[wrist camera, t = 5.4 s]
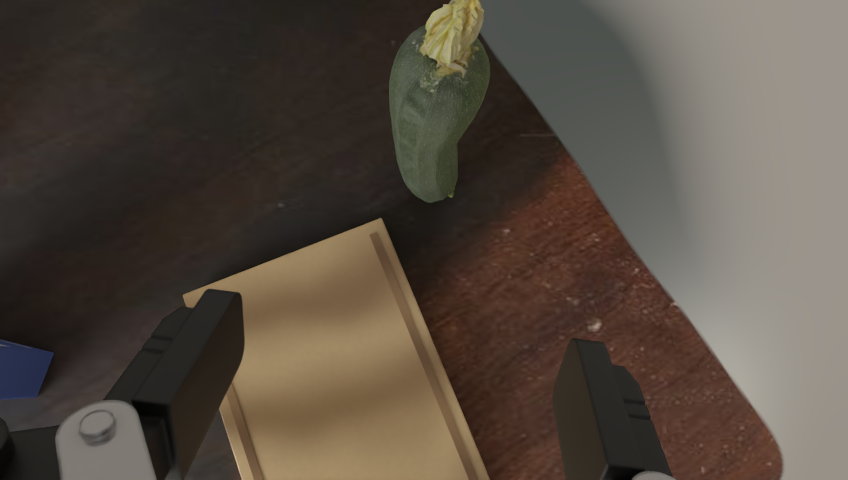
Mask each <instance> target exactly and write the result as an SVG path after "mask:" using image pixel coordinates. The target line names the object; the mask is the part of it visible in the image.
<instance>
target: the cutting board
mask: <svg viewBox="0 0 848 480" xmlns="http://www.w3.org/2000/svg"><path fill="white" fill-rule="evenodd" d="M207 289H217V290H225V291H232V292H239V293H240V294H241V296H242V304H243V319H244V335H245V346H244V353H243V357H242V361H241V364H240V366H239V368H238V370H237V372H236V374H235V377H234V379H233V381H232V383H231V385H230V387H229V389H228V391H227V393H226V395H225V397H224V399H223V401H222V403H221V405H220V407H219V410H220V413H221V416H222V419H223V422H224V425H225V428H226V432H227V435H228V438H229V441H230V444H231V447H232V450H233V453H234V456H235V459H236V463H237V466H238V469H239V472H240V475H241V478H242V480H490V477H489V475H488V473H487V470H486V468H485V465H484V463H483V461H482V458H481V456H480V453H479V451H478V449H477V446H476V444H475V441H474V439H473V437H472V434H471V432H470V429H469V427H468V424H467V422H466V420H465V417H464V415H463V412H462V410H461V408H460V405H459V403H458V400H457V398H456V396H455V393H454V391H453V388H452V386H451V384H450V381H449V379H448V376H447V374H446V371H445V369H444V367H443V364H442V362H441V359H440V357H439V355H438V352H437V350H436V347H435V345H434V343H433V340H432V338H431V335H430V333H429V331H428V328H427V326H426V323H425V321H424V318H423V316H422V314H421V311H420V309H419V306H418V304H417V302H416V299H415V297H414V294H413V292H412V290H411V287H410V285H409V282H408V280H407V278H406V275H405V273H404V270H403V268H402V265H401V263H400V261H399V258H398V256H397V253H396V251H395V249H394V246H393V244H392V241H391V239H390V237H389V234H388V232H387V229H386V227H385V225H384V222H383V220H382V218H379V219H377V220H374V221H372V222H369V223H367V224H364V225H361V226H359V227H356V228H354V229H351V230H348V231H346V232H343V233H341V234H338V235H336V236H333V237H330V238H328V239H325V240H323V241H320V242H317V243H315V244H312V245H310V246H307V247H305V248H302V249H299V250H297V251H294V252H292V253H289V254H286V255H284V256H281V257H279V258H276V259H274V260H271V261H268V262H266V263H263V264H261V265H258V266H256V267H253V268H250V269H248V270H245V271H243V272H240V273H237V274H235V275H232V276H230V277H227V278H225V279H222V280H219V281H217V282H214V283H212V284H209V285H206V286H204V287H201V288H199V289H196V290H194V291H191V292H188V293H186V294H184V295H183V298H184V301H185V304H186V307H190V308H194V306H195V305H196V303H197V302H198V300H199V299H200V298H201V296H202V295H203V293H204V292H205V291H206V290H207Z"/></svg>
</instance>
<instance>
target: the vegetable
mask: <svg viewBox="0 0 848 480" xmlns="http://www.w3.org/2000/svg"><path fill="white" fill-rule="evenodd" d="M480 1H481V0H451V1H450V3H449V4H443V7H442V8H440V9H438V10H436V11H434V12H433V13H432V14H431V16H430V18H429V19H428V21H427V23H426V25H424V26H421V27H420V28H418V29H417V30H415V31H414V32H412V33H411V34H410V35H409V37H408V38H407V39H406V40H405V41H404V43H403V44H402V45H401V47H400V49H399V50H398V52H397V55H396V57H395V60H394V64H393V67H392V70H391V75H390V81H389V104H390V114H391V120H392V133H393V139H394V144H395V150H396V158H397V163H398V166H399V169H400V172H401V175H402V177H403V180H404V182H405V184H406V185H407V187H408V188H409V189H410V191H411V192H412V193H413V194H414V195H415V196H417V197H418V198H420V199H422V200H424V201H425V202H428V203H432V202H435V201H439V200H443V199H444V198H446V197H447V196H449V197H450V198H451V197H453V196H454V191H455V185H456V182H457V179H458V155H457V142H458V141H459V139H460V138H461V136H462V135H463V133H464V132H465V130H466V129H467V127H468V126H469V124H470V123H471V122H472V120H473V119H474V117H475V115H476V114H477V112H478V110H479V108H480V106H481V104H482V102H483V99H484V96H485V93H486V90H487V87H488V84H489V78H490V65H489V60H488V57H487V54H486V52H485V50H484V47H483V46H482V44H481V42H480V41H479V39H478V38H477V37H478V34H479V32H480V29H481V26H482V23H483V19H484V17H483V14H484V12H483V11H484V10H483V9H482V6H481V3H480Z"/></svg>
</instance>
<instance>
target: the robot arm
mask: <svg viewBox="0 0 848 480" xmlns="http://www.w3.org/2000/svg"><path fill="white" fill-rule="evenodd" d="M244 346H245V335H244V319H243V304H242V296H241V294H240V293H239V292H232V291H225V290H217V289H207V290H206V291H205V292H204V293H203V295H202V296H201V298H200V299H199V300H198V302H197V303H196V305H195V306H194V308H190V307H183V306H182V307H180V308H179V309H177V310H176V311H174V312H173V313H171V314H170V315H168V316H167V317H165V318H164V319H163V320H162V321H161V322H160V324H159V325H158V326H157V328H156V329H155V330H154V332H153V333H152V335H151V338H149V339H148V340H147V341H146V343H145V344H144V345H143V347H142V350H141V351H139V352H138V353H137V355H136V356H135V358H134V359H133V360H132V362H131V363H130V364H129V366H128V367H127V368H126V370H125V371H124V372H123V374H122V375H121V377H120V378H119V379H118V381H117V382H116V383H115V385H114V386H113V387H112V389H111V390H110V391H109V393H108V394H107V395H106V397H105V398H104V399H103V401H98V402H94V403H91V404H88V405H86V406H84V407H81V408H79V409H78V410H76V411H75V412H73V413H72V414H71V415H69V416H68V417H67V418H66V419H65V420H64V421H63V422H62V424H61V425H58V426H52V427H45V428H37V429H29V430H22V431H14V432H9V429H8V427H7V424H6V422H5V421H4V420H3V419H1V418H0V480H184V478H185V476H186V474H187V472H188V470H189V468H190V466H191V464H192V462H193V459H194V457H195V455H196V453H197V451H198V449H199V447H200V445H201V443H202V441H203V439H204V437H205V435H206V433H207V431H208V429H209V427H210V425H211V423H212V421H213V419H214V417H215V415H216V413H217V411H218V409H219V407H220V405H221V403H222V401H223V399H224V397H225V395H226V393H227V391H228V389H229V387H230V385H231V383H232V381H233V379H234V377H235V374H236V372H237V370H238V368H239V366H240V364H241V361H242V357H243V353H244ZM553 409H554V415H555V420H556V426H557V432H558V437H559V443H560V449H561V455H562V460H563V466H564V472H565V477H566V480H676V479H674V478H673V477H672V474H671V471H670V469H669V466H668V463H667V461H666V458H665V455H664V452H663V450H662V447H661V444H660V441H659V439H658V436H657V433H656V430H655V428H654V425H653V422H652V421H651V420H650V414H649V411H648V408H647V406H646V405H645V400H644V397H643V395H642V392H641V389H640V386H639V384H638V383H637V381H636V380H635V379H634V378H633V377H632V375H631V374H630V373H629V372H628V371H627V369H626V368H625V367H623V366H616V365H612V363H611V360H610V357H609V354H608V351H607V348H606V345H605V344H604V343H603V342H598V341H590V340H583V339H575V338H572V339H571V340H570V342H569V344H568V346H567V349H566V352H565V355H564V358H563V362H562V365H561V368H560V371H559V374H558V377H557V380H556V383H555V387H554V394H553Z"/></svg>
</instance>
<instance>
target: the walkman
mask: <svg viewBox="0 0 848 480" xmlns="http://www.w3.org/2000/svg"><path fill="white" fill-rule="evenodd" d="M53 355H54V353H53V352H49V351H45V350H41V349H37V348H33V347H29V346H25V345H21V344H17V343H13V342H9V341H5V340H1V339H0V399H17V398H36V397H37V395H38V393H39V390H40V388H41V385H42V383H43V380H44V378H45V375H46V373H47V370H48V368H49V365H50V363H51V360H52V357H53Z"/></svg>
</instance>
